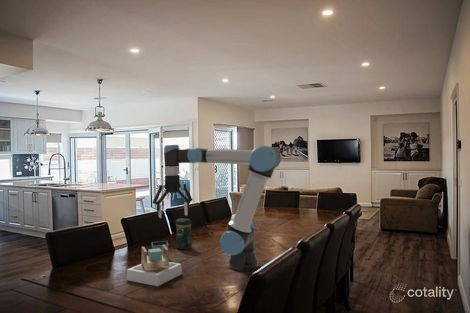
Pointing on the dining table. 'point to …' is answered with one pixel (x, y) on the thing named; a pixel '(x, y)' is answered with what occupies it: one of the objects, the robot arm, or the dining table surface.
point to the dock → (153, 274)
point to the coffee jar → (183, 233)
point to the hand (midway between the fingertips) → (173, 216)
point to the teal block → (154, 254)
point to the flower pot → (159, 244)
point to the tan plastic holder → (155, 263)
